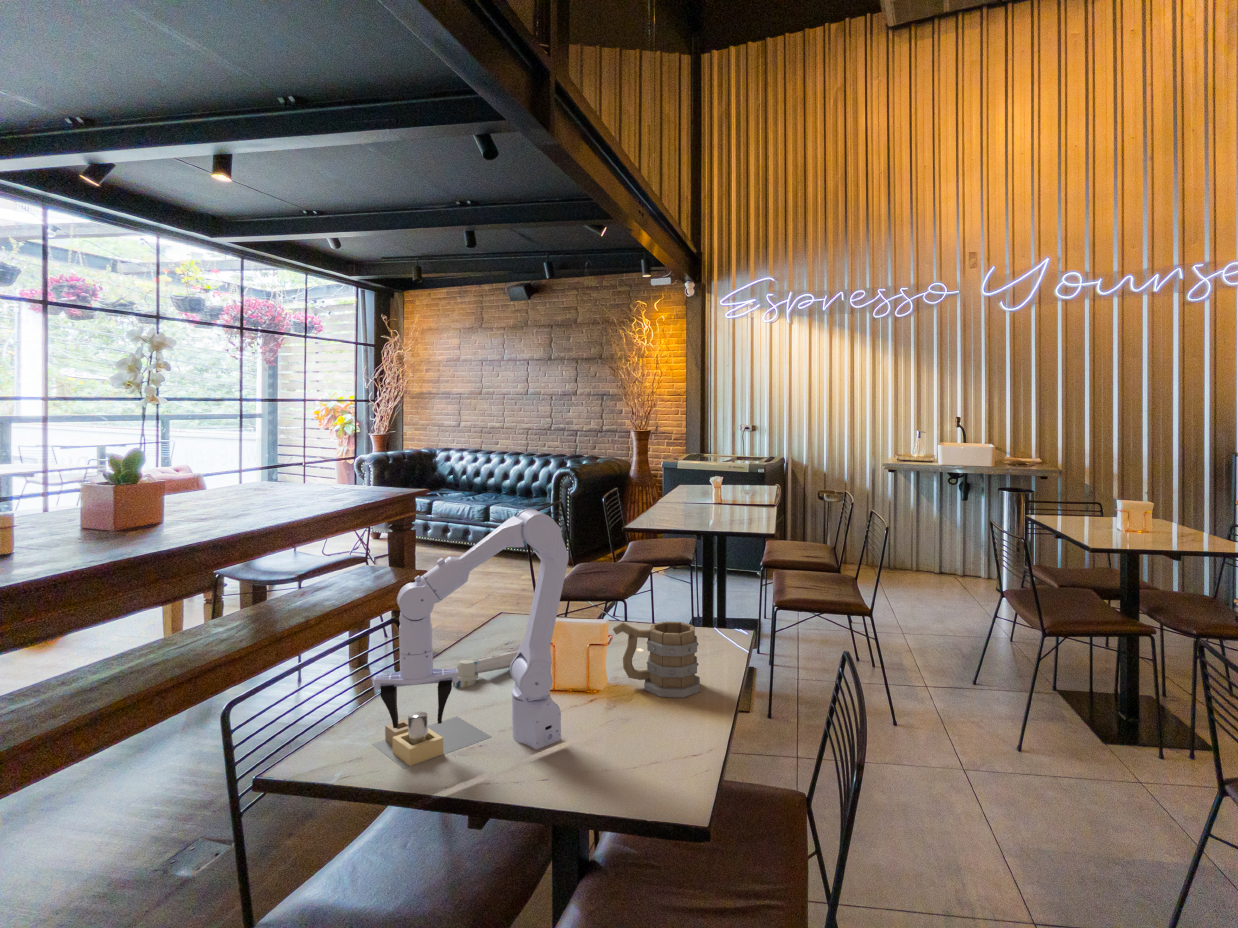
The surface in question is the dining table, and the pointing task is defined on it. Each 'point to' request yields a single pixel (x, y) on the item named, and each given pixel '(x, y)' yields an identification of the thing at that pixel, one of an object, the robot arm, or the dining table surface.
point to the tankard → (665, 658)
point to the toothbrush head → (481, 667)
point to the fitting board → (428, 741)
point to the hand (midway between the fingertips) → (417, 723)
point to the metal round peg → (417, 728)
